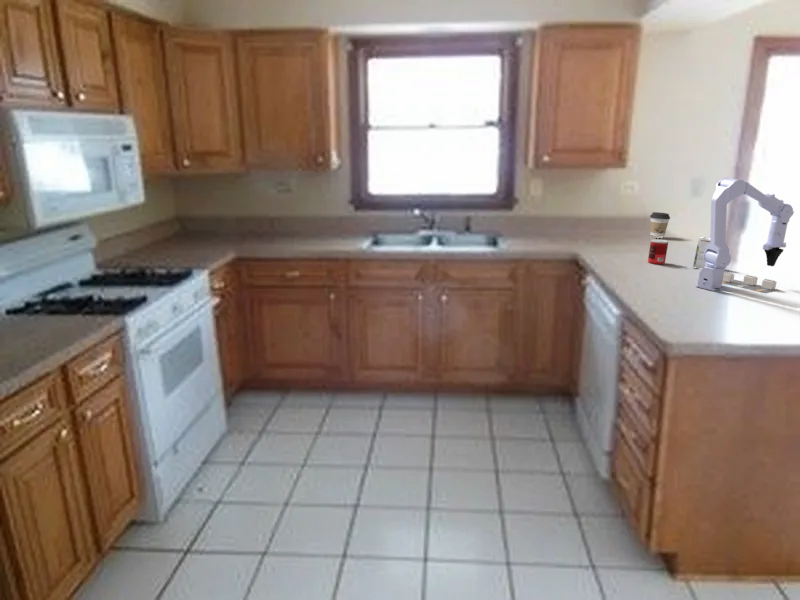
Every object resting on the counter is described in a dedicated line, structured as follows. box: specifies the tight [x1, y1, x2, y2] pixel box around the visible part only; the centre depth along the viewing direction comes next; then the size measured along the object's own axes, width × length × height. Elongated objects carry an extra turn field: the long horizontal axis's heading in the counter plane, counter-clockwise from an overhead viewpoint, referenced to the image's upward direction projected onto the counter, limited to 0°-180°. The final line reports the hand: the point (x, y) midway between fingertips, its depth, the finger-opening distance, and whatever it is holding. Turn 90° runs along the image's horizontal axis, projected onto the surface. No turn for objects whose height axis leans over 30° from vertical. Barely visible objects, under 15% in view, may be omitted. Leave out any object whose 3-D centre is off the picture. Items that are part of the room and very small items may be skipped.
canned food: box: [647, 238, 669, 266], centre depth 295 cm, size 8×8×11 cm
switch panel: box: [722, 279, 780, 294], centre depth 254 cm, size 12×22×1 cm, turn 33°
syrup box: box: [692, 236, 710, 268], centre depth 287 cm, size 6×6×14 cm
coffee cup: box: [649, 211, 671, 237], centre depth 367 cm, size 11×11×15 cm
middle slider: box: [743, 274, 758, 285], centre depth 255 cm, size 3×4×3 cm
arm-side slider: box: [723, 271, 735, 282], centre depth 259 cm, size 3×4×3 cm
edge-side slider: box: [761, 278, 777, 290], centre depth 249 cm, size 3×4×3 cm
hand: (770, 265), depth 253 cm, fingers closed
